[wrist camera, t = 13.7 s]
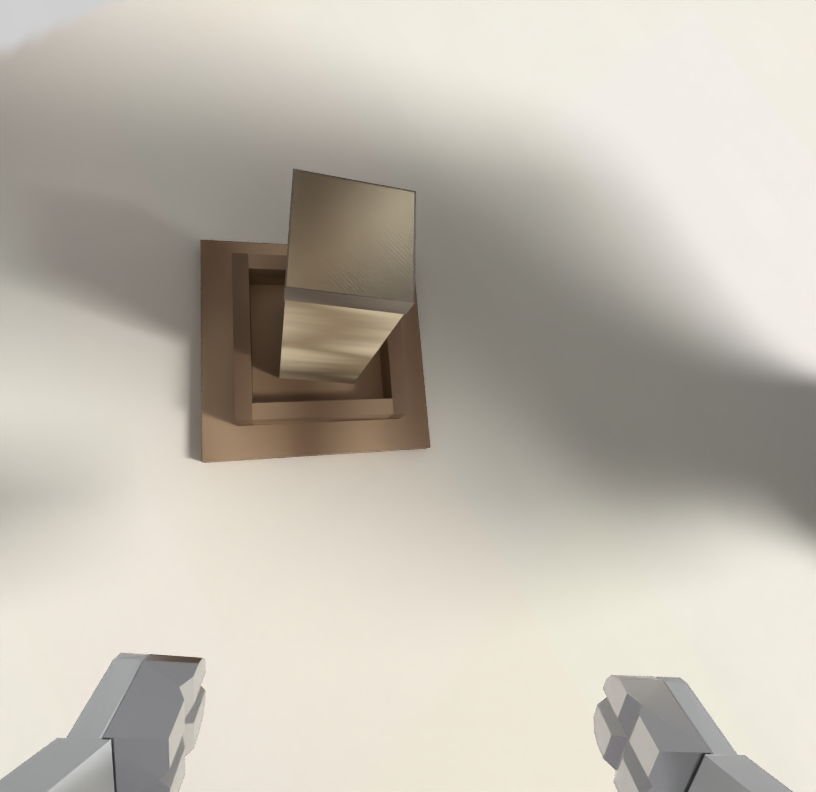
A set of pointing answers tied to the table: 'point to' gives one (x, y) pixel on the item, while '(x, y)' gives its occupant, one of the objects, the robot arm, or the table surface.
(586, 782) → the table surface
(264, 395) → the dock
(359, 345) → the tall wooden pillar
